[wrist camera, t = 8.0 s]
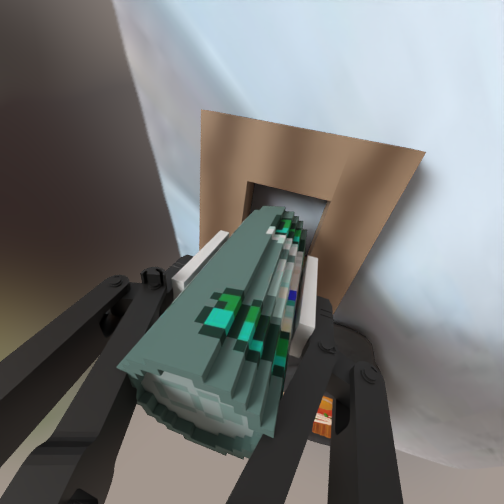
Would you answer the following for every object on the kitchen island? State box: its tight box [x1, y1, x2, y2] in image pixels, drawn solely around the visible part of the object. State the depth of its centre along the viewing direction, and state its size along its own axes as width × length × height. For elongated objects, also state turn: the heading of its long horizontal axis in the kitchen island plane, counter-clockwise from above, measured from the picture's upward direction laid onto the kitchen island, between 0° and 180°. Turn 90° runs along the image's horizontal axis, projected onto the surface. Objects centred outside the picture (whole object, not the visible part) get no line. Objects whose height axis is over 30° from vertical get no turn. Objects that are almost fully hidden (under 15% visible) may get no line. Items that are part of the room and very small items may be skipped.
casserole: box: [283, 324, 382, 446], centre depth 32 cm, size 25×19×8 cm
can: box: [116, 206, 307, 459], centre depth 14 cm, size 6×6×15 cm
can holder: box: [199, 110, 426, 314], centre depth 22 cm, size 18×18×3 cm
